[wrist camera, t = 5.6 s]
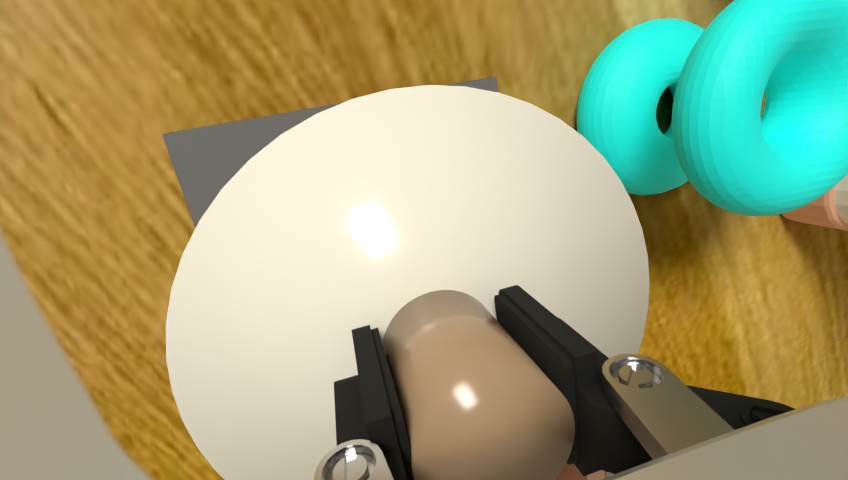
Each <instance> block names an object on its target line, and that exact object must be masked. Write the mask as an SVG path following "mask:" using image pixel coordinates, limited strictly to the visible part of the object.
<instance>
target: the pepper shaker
mask: <svg viewBox="0 0 848 480" xmlns="http://www.w3.org/2000/svg"><path fill="white" fill-rule="evenodd" d="M782 215H783V216H784V217H785V218H786V219H789V220H792V221H795V222H801V223H806V224H812V225H817V226H823V227H828V228H834V229H840V230H845V231H848V174H847V175H846V176H845V177H844V178H843V179H842V180H841V181H840V182H839V183H838V184H836V185H835V186H834V187H833V188H832V189H831V190H829V191H828V192H826V193H825V194H824V195H822V196H821V197H819V198H818V199H816V200H814V201H813V202H811V203H809V204H807V205H805V206H803V207H801V208H798V209H795V210H792V211H789V212H785V213H782Z"/></svg>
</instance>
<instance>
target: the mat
mask: <svg viewBox="0 0 848 480" xmlns="http://www.w3.org/2000/svg"><path fill="white" fill-rule="evenodd" d="M445 86H466V87H471V88H476V89H482V90H487V91H492V92H498V88H497V80H496V77H491V78H485V79H480V80H474V81H468V82H462V83H456V84H451V85H445ZM340 104H341V103H340ZM337 105H339V104H334V105H328V106H323V107H317V108H311V109H305V110H299V111H293V112H288V113H282V114H276V115H270V116H264V117H259V118H253V119H247V120H241V121H235V122H230V123H224V124H218V125H212V126H206V127H200V128H195V129H189V130H183V131H177V132H171V133H166V134H162V135H163V137H164V140H165V143H166V146H167V149H168V152H169V154H170V157H171V160H172V163H173V166H174V169H175V171H176V174H177V177H178V180H179V183H180V186H181V188H182V191H183V194H184V197H185V200H186V203H187V206H188V208H189V211H190V214H191V217H192V220H193V223H194V225H195V228H196V227H197V225H198V223H199V221H200V219H201V218H202V216H203V215H204V213H205V212H206V211H207V209H208V208H209V206H210V205H211V203H212V202H213V201H214V199H215V198H216V196H217V195H218V194H219V192H220V191H221V189H222V188H223V187H224V186H225V185H226V184H227V183H228V182H229V181H230V180H231V179H232V177H233V176H234V175H235V174H236V173H237V172H238V171H239V170H240V169H241V168H242V167H243V166H244V165H245V164H246V163H247V162H248V161H249V160H250V159H251V158H252V157H253V156H255V155H256V154H257V153H258V152H260V151H261V150H262V149H263V148H265V147H266V146H267V145H268V144H270V143H271V142H272V141H273V140H275V139H276V138H277V137H279V136H280V135H281V134H283V133H284V132H286V131H288V130H289V129H291V128H293V127H295V126H296V125H298V124H300V123H301V122H303V121H305V120H307V119H308V118H310V117H312V116H313V115H315V114H317V113H320V112H322V111H324V110H327V109H329V108H332V107H334V106H337Z"/></svg>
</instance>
